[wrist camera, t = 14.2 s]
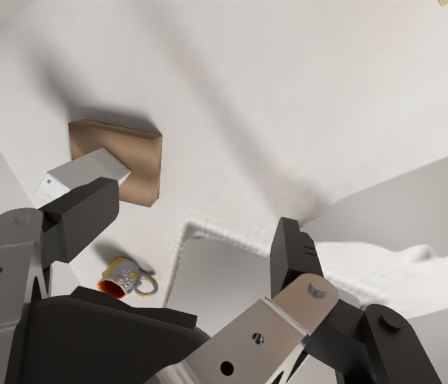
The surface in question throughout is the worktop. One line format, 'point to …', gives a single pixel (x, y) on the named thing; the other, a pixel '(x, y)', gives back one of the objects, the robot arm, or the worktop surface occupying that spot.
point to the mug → (124, 279)
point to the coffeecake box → (443, 2)
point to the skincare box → (81, 174)
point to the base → (123, 156)
